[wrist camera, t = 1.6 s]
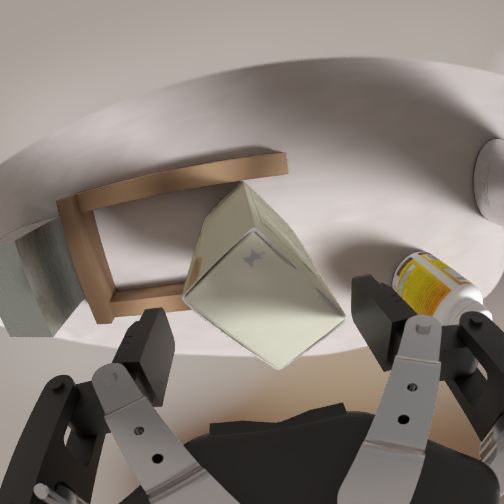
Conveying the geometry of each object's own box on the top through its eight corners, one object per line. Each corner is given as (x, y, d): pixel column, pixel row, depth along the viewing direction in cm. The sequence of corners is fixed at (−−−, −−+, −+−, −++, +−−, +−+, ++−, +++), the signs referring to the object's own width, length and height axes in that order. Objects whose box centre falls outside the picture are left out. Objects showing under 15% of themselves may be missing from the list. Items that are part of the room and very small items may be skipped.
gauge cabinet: (61, 215, 22) (14, 240, 15) (87, 295, 25) (53, 336, 18) (17, 228, 22) (-27, 253, 15) (42, 299, 25) (7, 336, 18)
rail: (281, 152, 21) (288, 153, 18) (295, 283, 25) (302, 300, 22) (74, 193, 21) (56, 201, 18) (108, 306, 25) (97, 324, 22)
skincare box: (203, 218, 23) (169, 295, 11) (242, 178, 22) (248, 218, 10) (260, 271, 24) (278, 376, 13) (299, 235, 24) (351, 321, 12)
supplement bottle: (391, 308, 27) (442, 374, 17) (387, 259, 25) (451, 319, 15) (435, 289, 26) (492, 344, 17) (434, 241, 24) (504, 289, 15)
